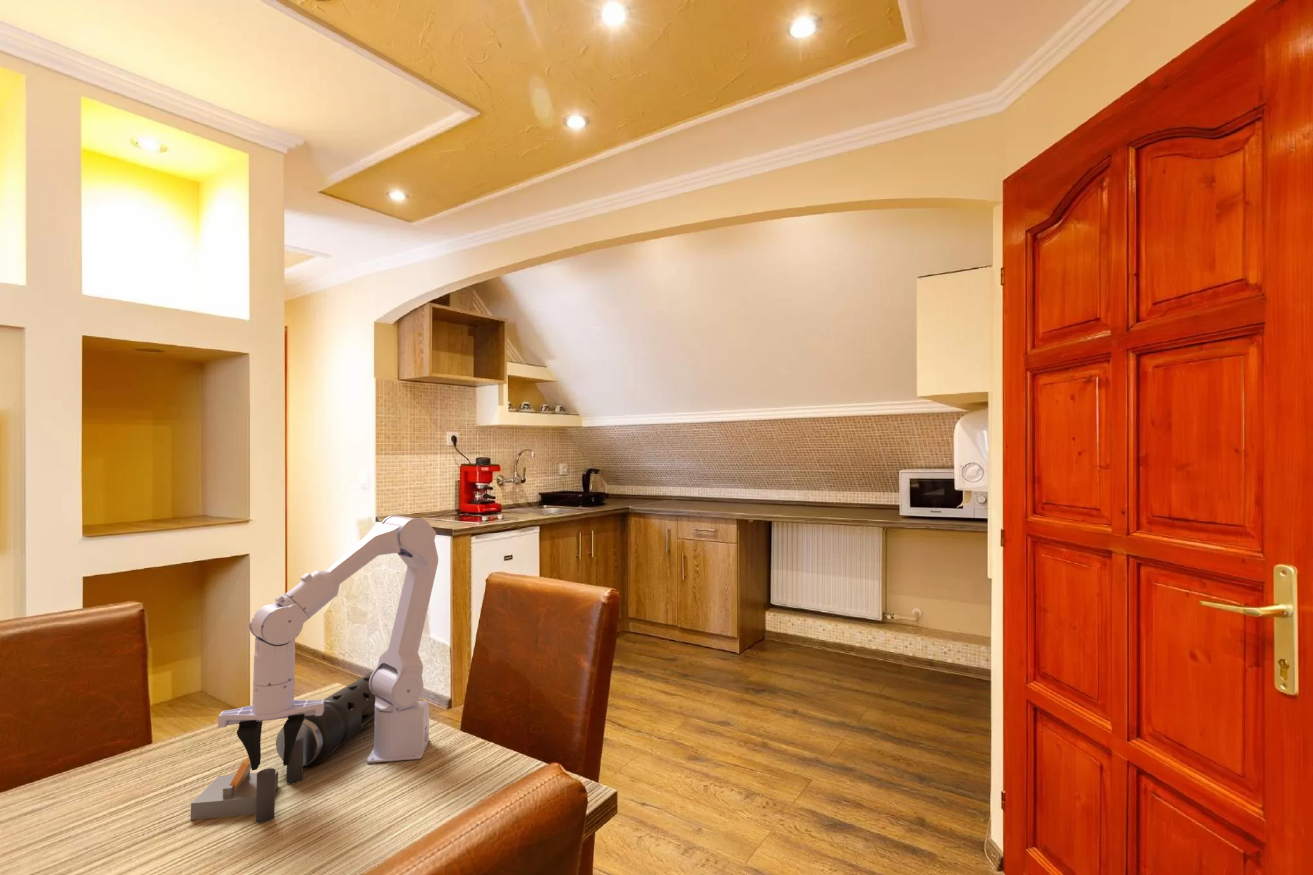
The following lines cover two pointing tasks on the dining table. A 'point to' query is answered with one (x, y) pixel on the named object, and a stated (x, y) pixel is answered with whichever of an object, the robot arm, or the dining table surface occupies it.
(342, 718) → the muzzle brake
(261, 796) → the cylinder
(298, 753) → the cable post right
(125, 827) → the dining table surface
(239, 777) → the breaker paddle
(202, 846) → the dining table surface
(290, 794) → the dining table surface
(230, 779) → the switch box
